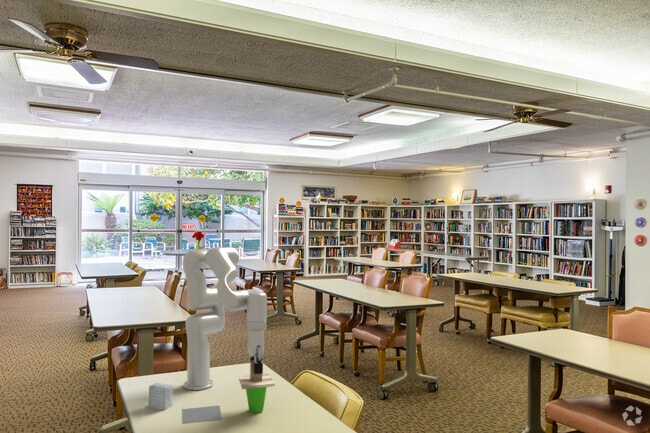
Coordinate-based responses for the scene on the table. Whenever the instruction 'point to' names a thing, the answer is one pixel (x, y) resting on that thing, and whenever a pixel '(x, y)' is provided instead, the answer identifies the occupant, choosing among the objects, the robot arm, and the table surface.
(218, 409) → the mat
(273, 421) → the table surface
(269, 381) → the lid
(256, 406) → the cup
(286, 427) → the table surface
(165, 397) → the medicine box
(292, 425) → the table surface
